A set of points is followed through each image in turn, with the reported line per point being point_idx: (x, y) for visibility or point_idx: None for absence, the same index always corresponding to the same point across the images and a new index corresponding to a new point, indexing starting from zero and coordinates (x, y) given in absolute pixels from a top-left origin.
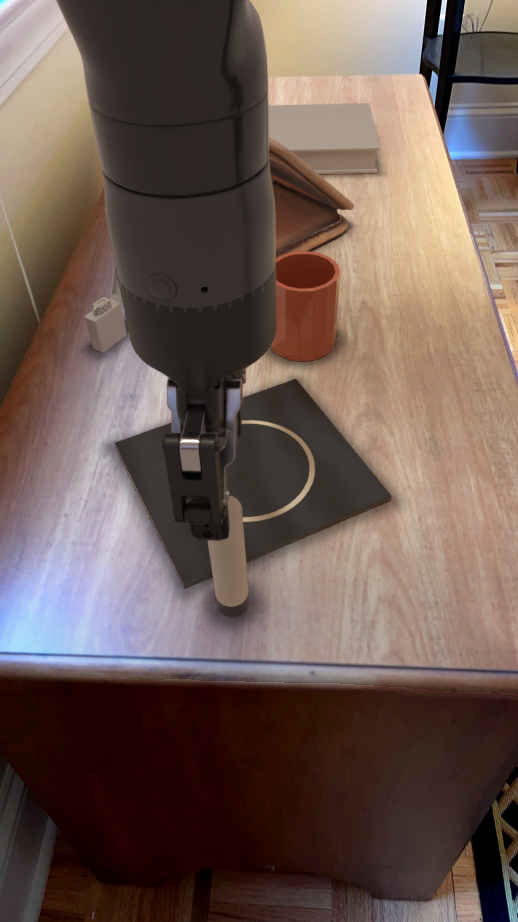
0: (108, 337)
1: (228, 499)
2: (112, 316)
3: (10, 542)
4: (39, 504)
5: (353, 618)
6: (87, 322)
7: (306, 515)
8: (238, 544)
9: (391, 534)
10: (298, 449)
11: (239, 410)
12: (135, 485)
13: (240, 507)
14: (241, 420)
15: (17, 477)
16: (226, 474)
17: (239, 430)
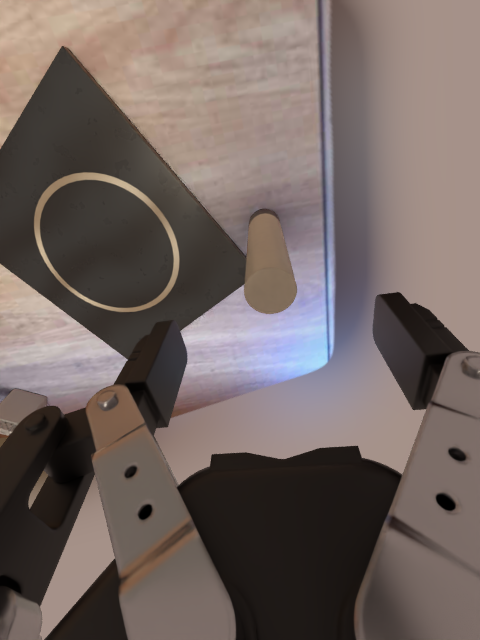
0: (29, 402)
1: (252, 288)
2: (7, 413)
3: (244, 392)
4: (208, 387)
5: (260, 76)
6: None
7: (142, 170)
8: (281, 250)
9: (123, 37)
10: (55, 201)
11: (156, 356)
12: None
13: (263, 270)
14: (152, 331)
15: (190, 406)
16: (468, 399)
17: (170, 326)
